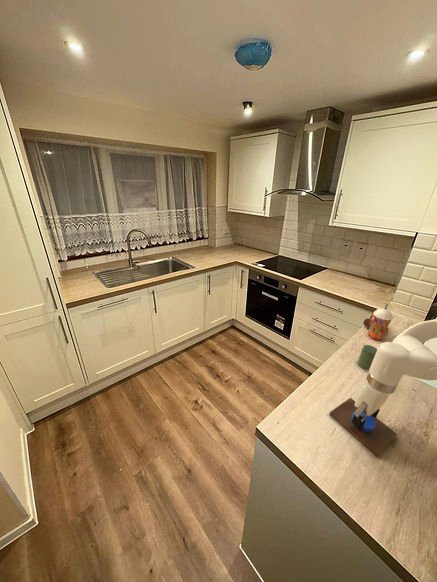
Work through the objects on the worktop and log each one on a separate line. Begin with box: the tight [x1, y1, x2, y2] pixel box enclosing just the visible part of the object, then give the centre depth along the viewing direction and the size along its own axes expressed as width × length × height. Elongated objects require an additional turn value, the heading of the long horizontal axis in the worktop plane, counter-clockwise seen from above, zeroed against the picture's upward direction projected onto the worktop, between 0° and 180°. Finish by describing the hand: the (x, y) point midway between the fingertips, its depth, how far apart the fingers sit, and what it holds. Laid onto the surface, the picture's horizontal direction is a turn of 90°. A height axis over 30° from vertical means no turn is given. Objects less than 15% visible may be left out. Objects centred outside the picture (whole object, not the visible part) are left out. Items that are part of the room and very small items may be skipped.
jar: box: [356, 344, 378, 371], centre depth 103 cm, size 6×6×9 cm
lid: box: [351, 410, 376, 432], centre depth 78 cm, size 7×7×2 cm
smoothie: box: [367, 303, 394, 341], centre depth 121 cm, size 8×8×20 cm
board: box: [329, 397, 398, 458], centre depth 78 cm, size 16×12×2 cm
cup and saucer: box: [363, 315, 389, 332], centre depth 132 cm, size 12×12×6 cm
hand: (364, 419), depth 77 cm, fingers open, 7 cm apart
